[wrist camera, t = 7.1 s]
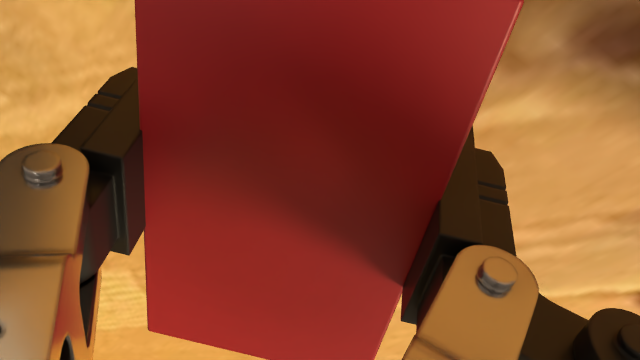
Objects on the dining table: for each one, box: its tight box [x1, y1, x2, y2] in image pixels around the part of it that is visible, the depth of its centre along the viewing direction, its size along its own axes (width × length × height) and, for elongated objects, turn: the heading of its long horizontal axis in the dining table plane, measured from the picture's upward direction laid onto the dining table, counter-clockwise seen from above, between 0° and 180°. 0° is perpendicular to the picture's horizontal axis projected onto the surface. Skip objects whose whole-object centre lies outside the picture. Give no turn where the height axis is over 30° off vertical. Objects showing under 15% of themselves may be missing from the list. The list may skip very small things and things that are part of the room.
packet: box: [135, 0, 524, 360], centre depth 11 cm, size 11×5×4 cm, turn 170°
